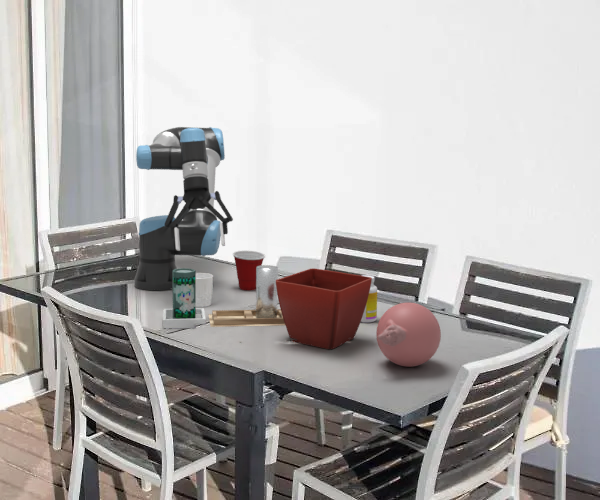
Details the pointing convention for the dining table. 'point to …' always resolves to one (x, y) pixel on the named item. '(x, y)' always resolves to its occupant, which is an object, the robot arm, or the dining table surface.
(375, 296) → the supplement bottle
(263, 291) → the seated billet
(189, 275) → the can
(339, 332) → the plant pot
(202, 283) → the white cup
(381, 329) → the balloon
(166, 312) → the frame
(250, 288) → the plastic cup
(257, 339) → the dining table surface
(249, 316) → the wooden tray
